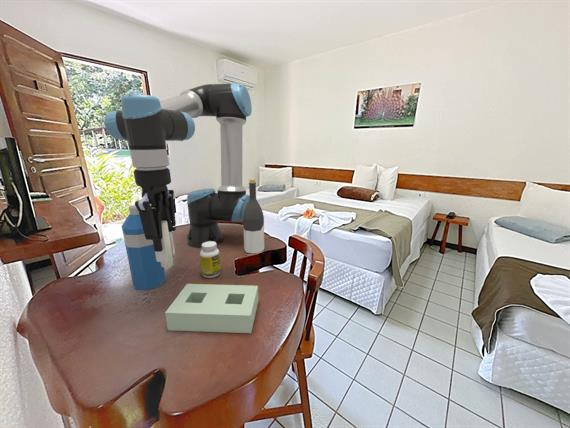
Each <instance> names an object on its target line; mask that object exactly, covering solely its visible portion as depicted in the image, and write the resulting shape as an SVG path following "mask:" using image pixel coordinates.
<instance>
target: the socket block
mask: <svg viewBox="0 0 570 428" xmlns="http://www.w3.org/2000/svg"><path fill="white" fill-rule="evenodd" d="M258 305H259V286H258V285H247V284H245V285H243V284H238V285H237V284H211V283H210V284H205V283H202V284H201V283H186V284H185V285H184V287H183V288H182V290H181V291H180V292H179V294H178V295H177V296H176V298H175V299H174V300H173V302H172V303H171V304H170V306H169V307H168V309H166V311H165V312H164V314H165V319H166V327H167V331H176V332H203V333H204V332H205V333H206V332H207V333H230V334H231V333H233V334H238V333H239V334H252V331H253V327H254V324H255V323H254V322H255V319H256V313H257V309H258Z"/></svg>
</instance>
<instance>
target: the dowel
mask: <svg viewBox="0 0 570 428" xmlns="http://www.w3.org/2000/svg"><path fill="white" fill-rule="evenodd" d="M161 223H162V237H165V241H166V247H167V254H168V260H169V261H168V262H161V267H164V269H166V268H169V267H172V266H173V265H174V257H173V256H174V255H172V250H171V243H170V237H169V230H168V224H167V221H165V220H161Z"/></svg>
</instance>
